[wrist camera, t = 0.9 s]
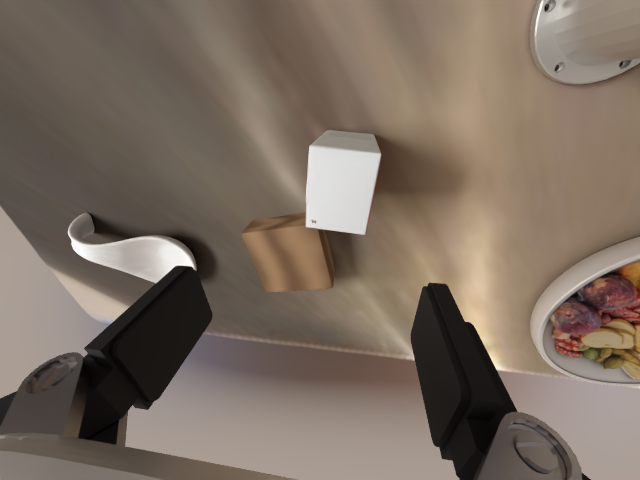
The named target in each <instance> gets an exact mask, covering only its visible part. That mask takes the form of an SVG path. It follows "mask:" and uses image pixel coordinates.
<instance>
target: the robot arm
mask: <svg viewBox="0 0 640 480" xmlns="http://www.w3.org/2000/svg"><path fill="white" fill-rule="evenodd" d="M545 6H546V11H544V7H545ZM530 49H531V54H532V58H533V60H534V62H535V64H536V66H537V68H538V69H539V70H540V71H541V72H542V73H543V74H544V75H545V76H546V77H548V78H549V79H551V80H553V81H556V82H559V83H563V84H576V85H577V84H589V83H594V82H598V81H602V80H606V79H608V78H611V77H614V76H616V75H619V74H621V73H623V72H625V71H627V70H628V69H630V68H632V67H634V66H636V65H637V64H639V63H640V0H538V1H537V4H536V7H535V10H534V13H533V17H532V22H531V27H530ZM555 67H556V70H555ZM211 320H212V311H211V309H210V306H209V303H208V300H207V298H206V295H205V292H204V290H203V287H202V284H201V282H200V279H199V276H198V274H197V271H196V270H194V268H193V267H191V266H179V265H178V266H175V267H174V268H173V269H172V270H170V271H169V272H168V273H167V274H166V275H165V276H164V277H163V278H162V279H160V280H159V281H158V282H157V283H156V284H155V285H154V286H153V287H152V288H150V289H149V290H148V291H147V292H146V293H145V294H144V295H143V296H142V297H140V298H139V299H138V300H137V301H136V302H135V303H134V304H133V305H132V306H130V307H129V308H128V309H127V310H126V311H125V312H124V313H123V314H122V315H120V316H119V317H118V318H117V319H116V320H115V321H114V322H113V323H112V324H110V325H109V326H108V327H107V328H106V329H105V330H104V331H103V332H102V333H100V334H99V335H98V336H97V337H96V338H95V339H94V340H93V341H92V342H91V343H89V344H88V345H87V346H86V347H85V348H84V349H85V350H86V351H87V352H88V354H87V355H86V356H85V357H83V356H82V355H81V354H80V353H76V352H72V353H66V354H63V355H59V356H57V357H55V358H53V359H50V360H49V361H47V362H45V363H44V364H42V365H40V366H39V367H38V368H36V369H35V370H34V371H33V372H31V373H30V374H29V375H28V377H26V378H25V379H24V381H23V382H22V384H21V385H20V387H19V388H18V390H17V391H16V392H14V393H12V394H10V395H7V396H5V397H3V398H1V399H0V480H295V479H291V478H286V477H281V476H276V475H271V474H265V473H260V472H255V471H250V470H245V469H240V468H234V467H229V466H224V465H219V464H214V463H209V462H203V461H198V460H193V459H188V458H183V457H177V456H172V455H167V454H162V453H156V452H151V451H145V450H140V449H135V448H130V447H125V441H126V427H127V416H128V410H129V409H130V407H131V406H132V405H133V406H134V407H135V408H140V409H146V410H148V409H149V408H150V406H151V405H152V403H153V402H154V401H155V400H157V399H158V398H159V397H160V396H161V395H162V393H163V392H164V390H165V389H166V387H167V386H168V384H169V383H170V381H171V380H172V378H173V377H174V375H175V374H176V372H177V371H178V369H179V368H180V366H181V365H182V363H183V362H184V360H185V359H186V357H187V356H188V354H189V353H190V352H191V350H192V349H193V347H194V346H195V344H196V343H197V341H198V340H199V338H200V337H201V335H202V334H203V332H204V331H205V329H206V328H207V326H208V325H209V323H210V322H211ZM411 344H412V348H413V353H414V358H415V362H416V367H417V371H418V376H419V381H420V385H421V390H422V395H423V400H424V404H425V409H426V413H427V418H428V423H429V428H430V432H431V437H432V440H433V444H434V445H435V446H436V447H439V448H440V452H441V456H442V459H447V460H452V461H453V463H454V467H455V471H456V475H457V476H458V477H459V478H460V480H590V479H589V478H588V477H587V476H585V475H584V474H583V473H582V472H581V467H580V465H579V462H578V460H577V458H576V456H575V454H574V453H573V451H572V450H571V448H570V447H569V445H568V444H567V443H566V442H565V440H564V439H563V438H562V437H561V436H560V435H559V434H558V433H557V432H556V431H554V430H553V429H552V428H551V427H550V426H548V425H547V424H546V423H545V422H543V421H541V420H539V419H537V418H535V417H534V416H531V415H528V414H525V413H522V412H517V410H516V408H515V406H514V404H513V402H512V400H511V398H510V396H509V394H508V392H507V390H506V388H505V386H504V384H503V382H502V380H501V378H500V376H499V374H498V372H497V370H496V368H495V366H494V364H493V362H492V361H491V359H490V357H489V355H488V353H487V351H486V349H485V347H484V345H483V343H482V341H481V339H480V337H479V335H478V333H477V331H476V329H475V327H474V326H473V325H472V324H471V323H469V322H465V321H464V319H463V317H462V315H461V313H460V311H459V309H458V307H457V305H456V302H455V300H454V298H453V296H452V294H451V292H450V290H449V288H448V286H447V285H446V284H439V283H429V284H428V286H427V287H426V286H424V287H423V288H422V292H421V296H420V300H419V304H418V308H417V312H416V316H415V319H414V323H413V327H412V331H411Z"/></svg>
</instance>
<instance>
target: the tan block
mask: <svg viewBox="0 0 640 480" xmlns="http://www.w3.org/2000/svg"><path fill="white" fill-rule="evenodd" d="M241 235H242V237H243V240H244V242H245V244H246V247H247V249H248V251H249V254H250V256H251V258H252V261H253V263H254V265H255V267H256V270H257V272H258V274H259V277H260V279H261V281H262V284H263V286H264V288H265V291H266V292H280V291H296V290H312V289H328V288H333V281H334V275H335V268H334V263H333V259H332V255H331V251H330V246H329V242H328V238H327V233H326V230H324V229H317V228H309V227H306V213H300V214H293V215H286V216H279V217H273V218H266V219H259V220H253V221H252V222H251V223H250V224H249V225H248V226H247V227H246V229H245V230H244V231H243V232H242V233H241Z"/></svg>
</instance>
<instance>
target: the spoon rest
mask: <svg viewBox="0 0 640 480" xmlns="http://www.w3.org/2000/svg"><path fill="white" fill-rule="evenodd" d="M94 230H95V229H94V224H93V220H92V218H91V216H90V215H89V214H88V213H84V214H82V215H80V216H79V217H77V218H76V219H75V220H74V221H73V222H72V223H71V225H70V227H69V229H68V234H69V237H70V238H71V240H72V247H73V249H74V251H75V252H76V253H78V254H79V255H80V256H82V257H83V258H85V259H87V260H89V261H92V262H95V263H98V264H101V265H105V266H108V267H111V268H114V269H118V270H121V271H124V272H127V273H129V274H132V275H135V276H138V277H141V278H143V279H146V280H149V281H152V282H155V283H157V282H158V281H159V280H160V279H162V278H163V277H164V276H165V275H166V274H167V273H168V272H169V271H170V270H172V269H173V268H174V267H175V266H178V265H179V266H191V267H193V268H194V270H196V271H197V268H196V261H195V258H194V256H193V254H192V252H191V251H190V250H189V249H188V247H187V246H185V245H184V244H183V243H181V242H180V241H178V240H176V239H174V238H171V237H167V236H161V235H151V236H142V237H136V238H131V239H127V240H122V241H118V242H113V243H107V244H89V243H86V242H84V241H83V240H81V239H83V238H85V237H87V236H88V235H91V234H92V233H94Z"/></svg>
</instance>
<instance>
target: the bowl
mask: <svg viewBox="0 0 640 480" xmlns="http://www.w3.org/2000/svg"><path fill="white" fill-rule="evenodd" d="M530 327H531V335H532V339H533V342H534V344H535V346H536V348H537V350H538V351H539V353H540V354H541V356H542V357H543V358H544V360H545V361H546V362H547V363H548V364H549V365H550V366H552V367H553V368H554V369H556V370H558V371H559V372H561V373H563V374H565V375H567V376H570V377H573V378H576V379H579V380H582V381H586V382H591V383H597V384H604V385H614V386H640V237H636V238H633V239H630V240H627V241H624V242H621V243H618V244H615V245H613V246H610V247H608V248H606V249H603V250H601V251H599V252H597V253H595V254H593V255H591V256H589V257H587V258H585V259H583V260H582V261H580V262H578V263H577V264H575V265H573V266H572V267H570V268H569V269H568V270H566V271H565V272H564V273H562V274H561V275H560V276H559V277H557V278H556V279H555V280H554V281H553V282H552V283H551V284H550V285H549V286H548V287H547V288H546V289H545V291H544V292H543V293H542V295H541V296H540V298H539V299H538V301H537V303H536V305H535V307H534V309H533V312H532V316H531V324H530Z"/></svg>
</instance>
